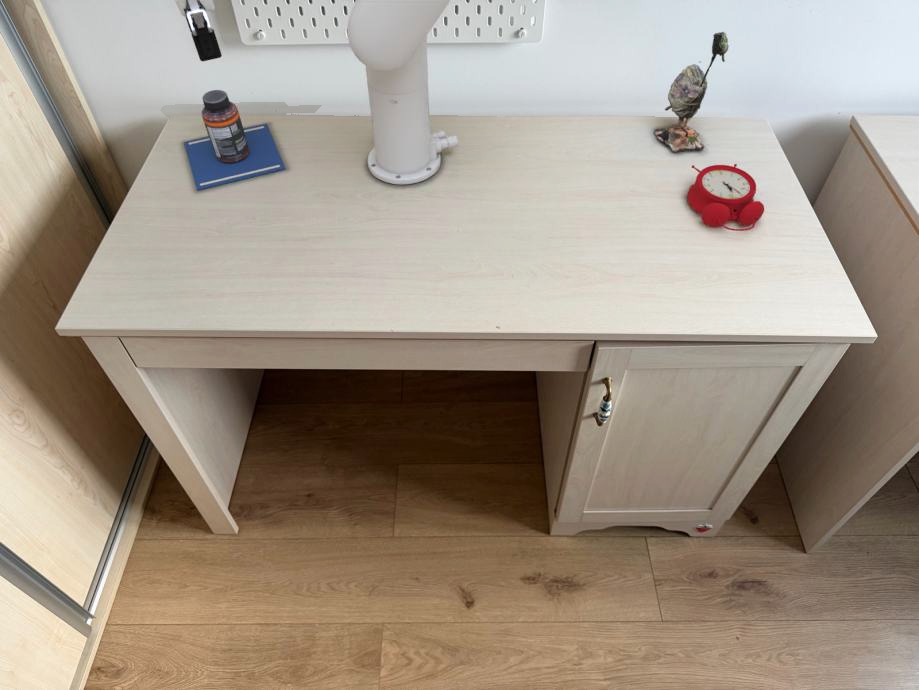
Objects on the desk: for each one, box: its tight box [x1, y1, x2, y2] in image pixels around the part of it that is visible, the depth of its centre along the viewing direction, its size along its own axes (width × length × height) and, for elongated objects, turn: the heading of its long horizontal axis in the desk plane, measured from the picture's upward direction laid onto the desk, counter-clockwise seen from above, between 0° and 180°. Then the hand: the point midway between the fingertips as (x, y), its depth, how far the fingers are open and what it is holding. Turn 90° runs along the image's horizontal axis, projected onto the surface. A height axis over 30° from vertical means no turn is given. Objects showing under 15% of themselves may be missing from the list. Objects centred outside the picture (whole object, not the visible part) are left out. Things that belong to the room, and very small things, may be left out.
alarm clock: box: [686, 163, 765, 232], centre depth 107 cm, size 10×6×15 cm
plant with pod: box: [653, 31, 730, 153], centre depth 114 cm, size 8×11×20 cm
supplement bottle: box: [201, 89, 249, 163], centre depth 115 cm, size 6×6×11 cm
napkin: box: [183, 123, 286, 191], centre depth 119 cm, size 15×15×1 cm
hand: (206, 44), depth 103 cm, fingers open, 9 cm apart
